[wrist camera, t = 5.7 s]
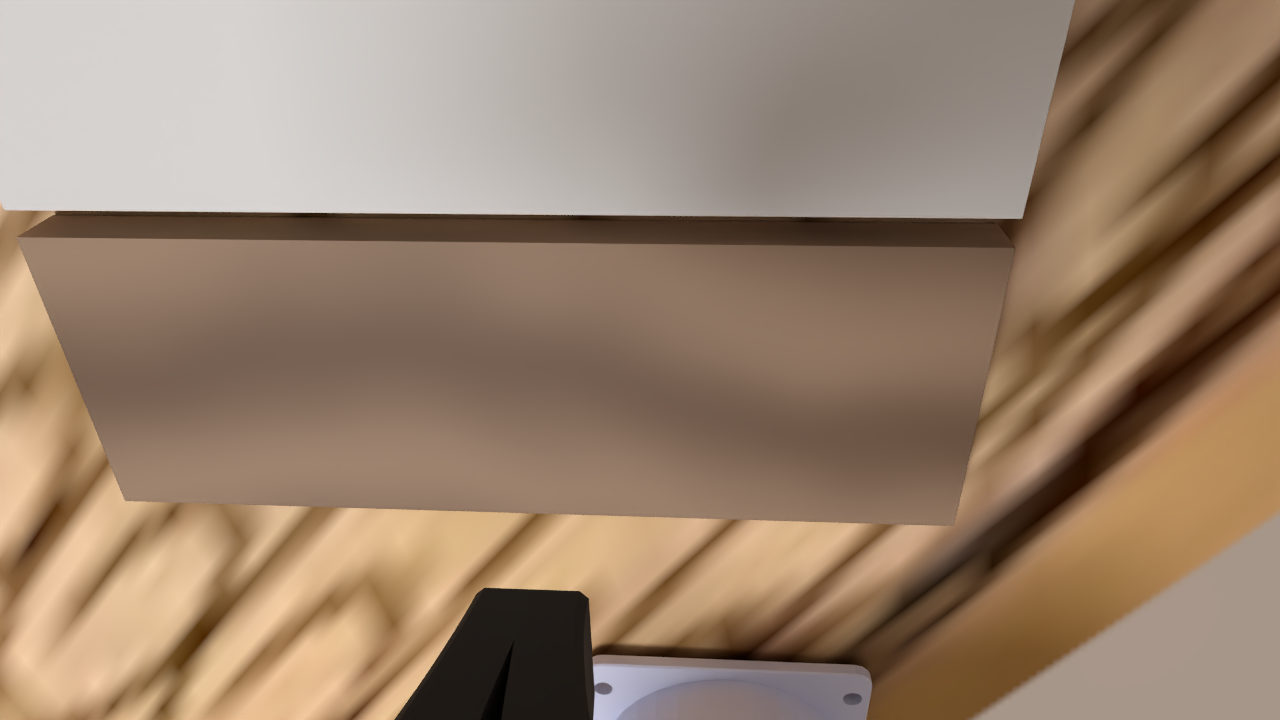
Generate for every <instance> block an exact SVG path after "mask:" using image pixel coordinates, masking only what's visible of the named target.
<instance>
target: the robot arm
mask: <svg viewBox="0 0 1280 720" xmlns="http://www.w3.org/2000/svg"><path fill="white" fill-rule="evenodd" d="M602 682H604V683H602ZM871 691H872V681H871V676H870V673H869V671H868V670H867V669H866V668H864V667H862V666H858V665H847V664H822V663H798V662H773V661H748V660H723V659H699V658H674V657H649V656H625V655H597V656H594V657H592V642H591V627H590V612H589V598H587V597H586V596H585V595H584V594H582V593H581V592H580V591H556V590H528V589H500V588H484V589H482V590H481V591H480V592H479V593H477V594H476V596H475V598H474V599H473V601H472V603H471V605H470V606H469V608H468V610H467V612H466V613H465V615H464V617H463V618H462V620H461V621H460V623H459V625H458V626H457V628H456V630H455V631H454V633H453V634H452V636H451V638H450V639H449V641H448V642H447V644H446V646H445V647H444V649H443V650H442V652H441V653H440V655H439V656H438V658H437V659H436V661H435V662H434V664H433V665H432V667H431V668H430V670H429V671H428V673H427V674H426V676H425V677H424V679H423V680H422V682H421V683H420V685H419V686H418V687H417V689H416V690H415V692H414V693H413V694H412V696H411V697H410V699H409V700H408V702H407V703H406V704H405V706H404V707H403V709H402V710H401V711H400V713H399V714H398V716H397V717H396V718H395V720H866V719H867V713H868V708H869V702H870V697H871ZM849 693H851V694H849Z"/></svg>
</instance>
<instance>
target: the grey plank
mask: <svg viewBox="0 0 1280 720" xmlns="http://www.w3.org/2000/svg"><path fill="white" fill-rule="evenodd" d="M1074 3H1075V0H0V202H1V204H2V206H3V208H4V210H52V211H168V212H285V213H402V214H518V215H635V216H752V217H868V218H985V219H1022V218H1023V214H1024V210H1025V205H1026V201H1027V197H1028V193H1029V189H1030V185H1031V181H1032V177H1033V172H1034V168H1035V164H1036V160H1037V156H1038V152H1039V148H1040V144H1041V139H1042V135H1043V131H1044V127H1045V123H1046V119H1047V115H1048V111H1049V106H1050V102H1051V98H1052V94H1053V90H1054V86H1055V82H1056V78H1057V73H1058V69H1059V65H1060V61H1061V57H1062V53H1063V49H1064V45H1065V40H1066V36H1067V32H1068V28H1069V24H1070V20H1071V16H1072V12H1073V7H1074Z"/></svg>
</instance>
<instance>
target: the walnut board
mask: <svg viewBox="0 0 1280 720" xmlns="http://www.w3.org/2000/svg"><path fill="white" fill-rule="evenodd" d="M16 238H17V240H18V243H19V245H20V247H21V250H22V252H23V255H24V257H25V260H26V262H27V264H28V267H29V269H30V272H31V274H32V277H33V279H34V281H35V284H36V286H37V289H38V291H39V293H40V296H41V298H42V301H43V303H44V306H45V308H46V310H47V313H48V315H49V318H50V320H51V323H52V325H53V327H54V330H55V332H56V335H57V337H58V339H59V342H60V344H61V347H62V349H63V352H64V354H65V356H66V359H67V361H68V364H69V366H70V369H71V371H72V373H73V376H74V378H75V381H76V383H77V385H78V388H79V390H80V393H81V395H82V398H83V400H84V402H85V405H86V407H87V410H88V412H89V415H90V417H91V419H92V422H93V424H94V427H95V429H96V431H97V434H98V436H99V439H100V441H101V444H102V446H103V448H104V451H105V453H106V456H107V458H108V461H109V463H110V465H111V468H112V470H113V473H114V475H115V477H116V480H117V482H118V485H119V487H120V490H121V492H122V494H123V497H124V499H125V501H145V502H178V503H211V504H244V505H277V506H310V507H343V508H376V509H409V510H442V511H475V512H508V513H541V514H574V515H607V516H640V517H673V518H706V519H739V520H772V521H805V522H838V523H871V524H904V525H937V526H954V524H955V519H956V515H957V510H958V506H959V501H960V497H961V492H962V488H963V483H964V479H965V474H966V470H967V465H968V461H969V456H970V452H971V447H972V443H973V438H974V433H975V429H976V424H977V420H978V415H979V411H980V406H981V402H982V397H983V393H984V388H985V384H986V379H987V375H988V370H989V366H990V361H991V357H992V352H993V348H994V343H995V338H996V334H997V329H998V325H999V320H1000V316H1001V311H1002V307H1003V302H1004V298H1005V293H1006V289H1007V284H1008V280H1009V275H1010V271H1011V266H1012V262H1013V257H1014V252H1015V247H1014V245H1013V244H1012V243H1011V241H1010V240H1009V238H1008V237H1007V236H1006V234H1005V233H1004V231H1003V230H1002V229H1001V227H1000V226H999V225H998V224H980V223H868V222H756V221H644V220H532V219H420V218H308V217H196V216H84V215H53V216H51V217H49V218H48V219H46V220H44V221H43V222H41V223H39V224H38V225H36V226H34V227H33V228H31V229H29V230H28V231H26V232H24V233H23V234H21V235H19V236H18V237H16Z"/></svg>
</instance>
